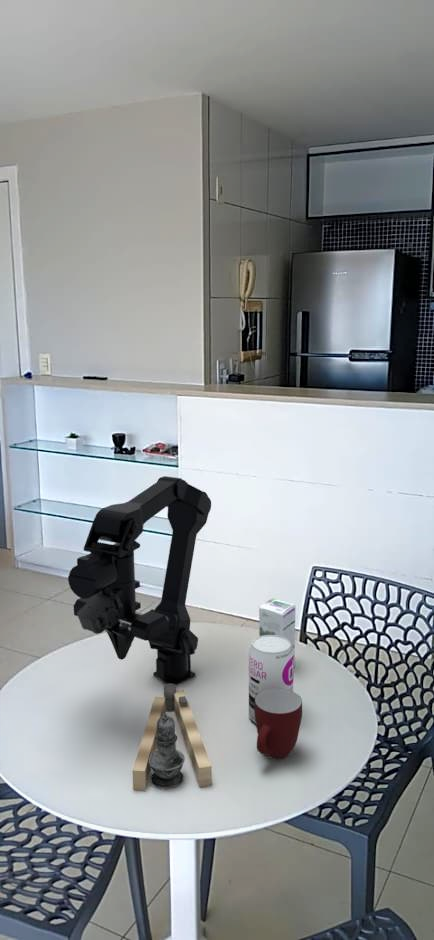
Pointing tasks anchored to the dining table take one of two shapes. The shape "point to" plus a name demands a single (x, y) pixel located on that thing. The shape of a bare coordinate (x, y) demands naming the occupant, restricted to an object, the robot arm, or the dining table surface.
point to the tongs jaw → (147, 745)
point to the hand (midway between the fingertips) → (121, 658)
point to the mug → (277, 721)
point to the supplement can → (269, 666)
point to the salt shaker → (166, 756)
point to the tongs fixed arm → (189, 733)
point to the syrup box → (278, 620)
